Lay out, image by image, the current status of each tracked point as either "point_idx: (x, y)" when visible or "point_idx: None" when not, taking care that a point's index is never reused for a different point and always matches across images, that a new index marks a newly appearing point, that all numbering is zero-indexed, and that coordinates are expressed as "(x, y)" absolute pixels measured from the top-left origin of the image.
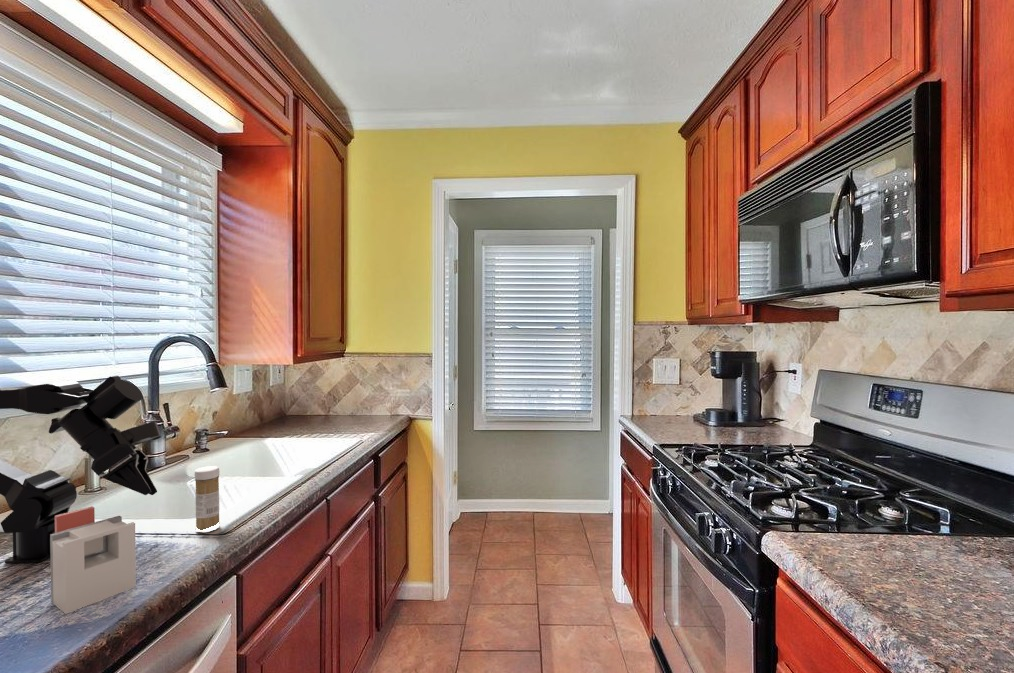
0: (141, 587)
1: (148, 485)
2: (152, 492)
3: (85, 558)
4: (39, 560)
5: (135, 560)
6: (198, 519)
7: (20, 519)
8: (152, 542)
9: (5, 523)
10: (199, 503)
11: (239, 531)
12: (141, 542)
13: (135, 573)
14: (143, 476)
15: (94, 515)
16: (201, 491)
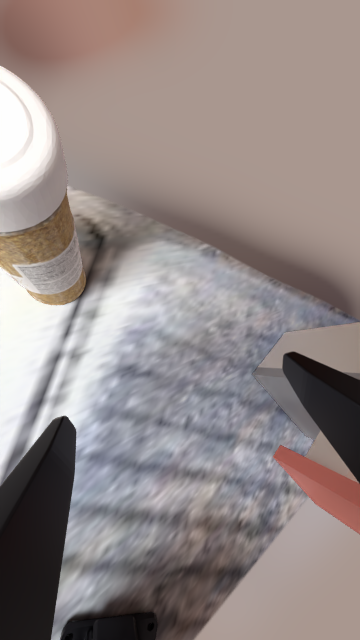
0: (286, 323)
1: (54, 477)
2: (70, 434)
3: None
4: (155, 619)
5: (320, 327)
6: (75, 284)
7: None
8: (102, 389)
9: None
10: (74, 260)
11: (96, 209)
12: (92, 418)
13: (301, 330)
14: (1, 577)
15: (352, 480)
16: (70, 230)
